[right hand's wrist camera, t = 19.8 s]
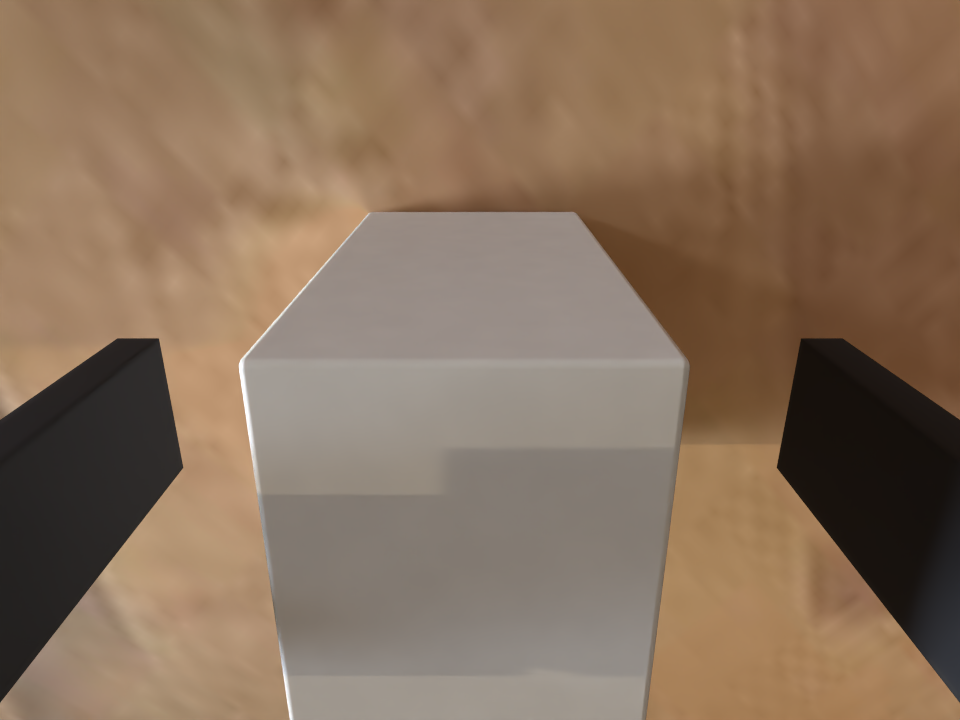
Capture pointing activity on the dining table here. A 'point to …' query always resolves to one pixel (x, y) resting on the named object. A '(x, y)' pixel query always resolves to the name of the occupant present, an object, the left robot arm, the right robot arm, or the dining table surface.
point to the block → (466, 473)
